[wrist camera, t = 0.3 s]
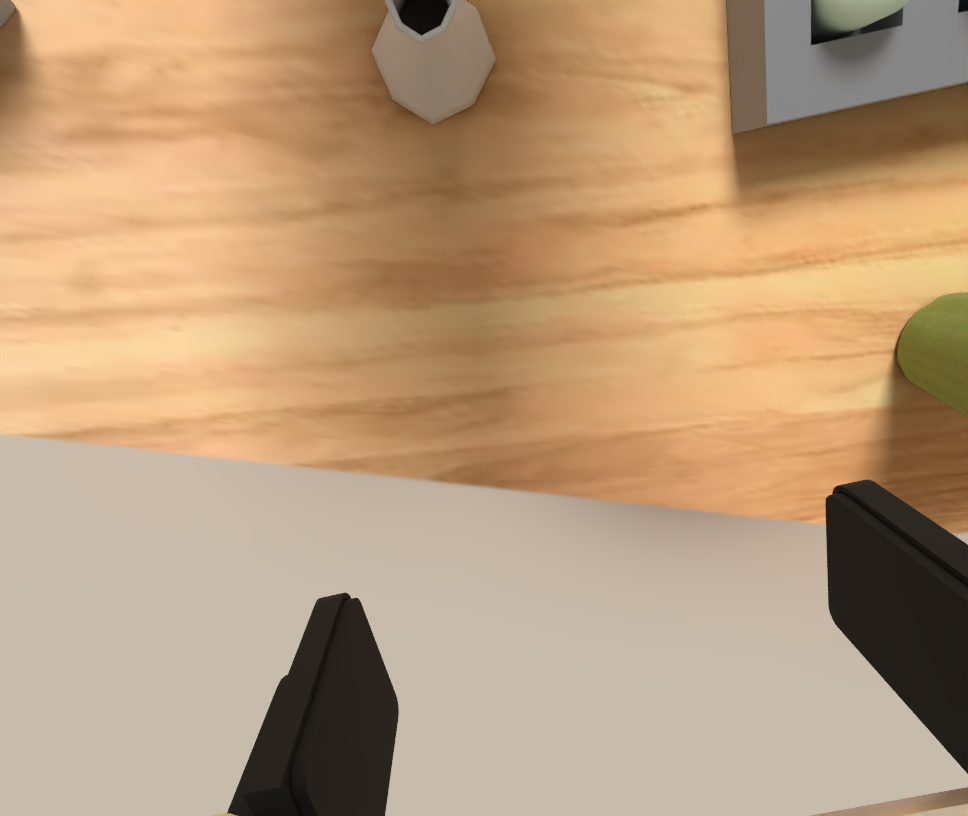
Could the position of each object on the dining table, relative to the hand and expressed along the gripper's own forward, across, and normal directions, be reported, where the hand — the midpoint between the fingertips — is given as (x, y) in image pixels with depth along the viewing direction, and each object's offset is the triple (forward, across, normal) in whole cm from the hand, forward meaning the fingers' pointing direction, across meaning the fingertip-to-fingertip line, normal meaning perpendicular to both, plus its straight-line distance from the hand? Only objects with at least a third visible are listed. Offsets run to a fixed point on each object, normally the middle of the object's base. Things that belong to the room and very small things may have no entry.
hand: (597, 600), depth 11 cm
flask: (+31, +1, -17) cm, 35 cm away
